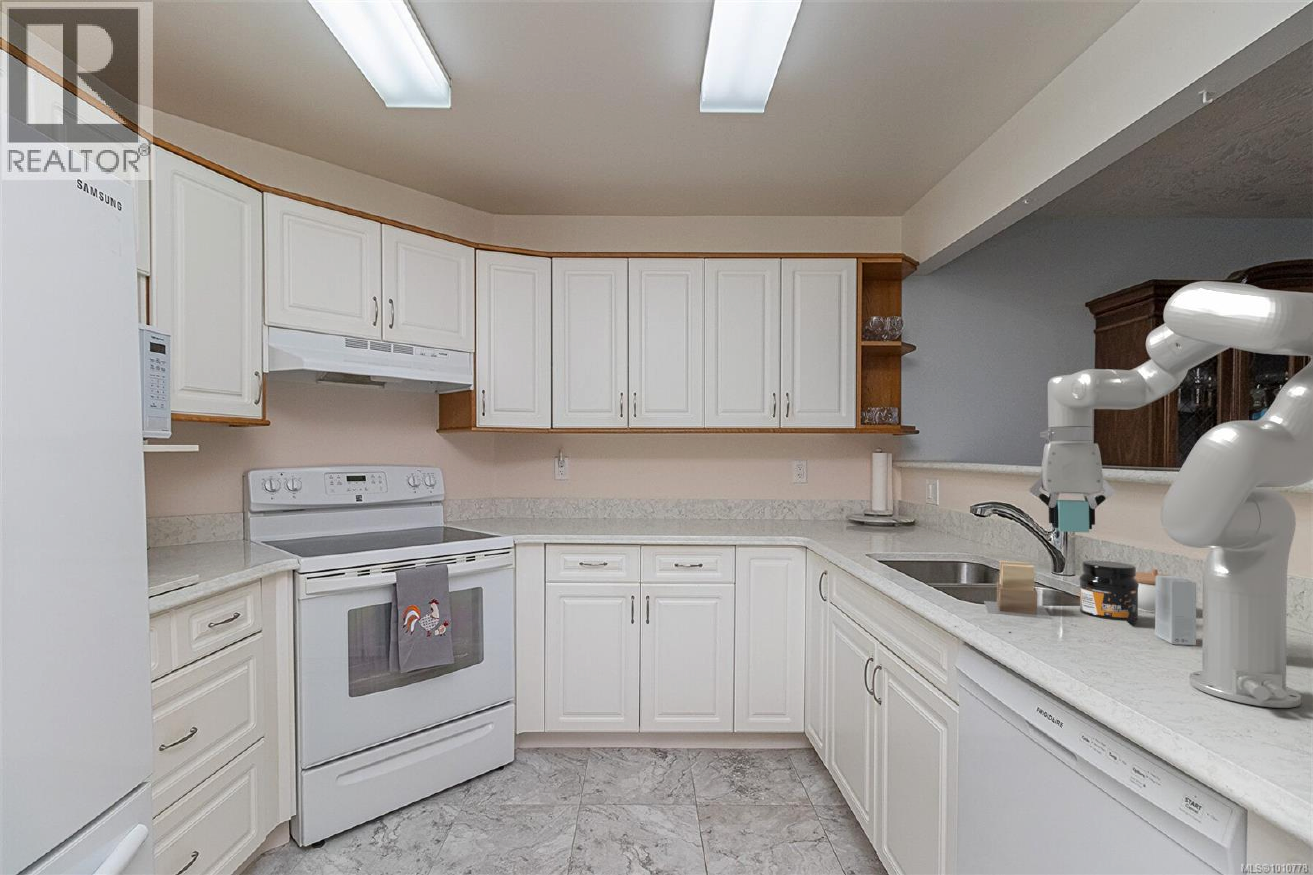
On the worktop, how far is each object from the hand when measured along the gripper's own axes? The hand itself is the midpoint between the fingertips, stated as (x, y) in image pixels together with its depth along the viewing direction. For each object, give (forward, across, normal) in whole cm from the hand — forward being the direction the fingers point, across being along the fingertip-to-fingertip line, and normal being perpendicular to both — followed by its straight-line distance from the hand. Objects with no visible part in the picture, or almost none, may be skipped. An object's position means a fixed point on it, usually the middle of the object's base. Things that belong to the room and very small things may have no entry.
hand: (1071, 526), depth 131 cm
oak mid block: (+15, -9, +12) cm, 21 cm away
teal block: (+1, 0, 0) cm, 1 cm away
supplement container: (+21, +9, +16) cm, 28 cm away
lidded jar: (+21, +21, +30) cm, 42 cm away
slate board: (+21, -9, +12) cm, 25 cm away
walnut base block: (+20, -9, +12) cm, 24 cm away
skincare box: (+22, +17, +3) cm, 28 cm away
